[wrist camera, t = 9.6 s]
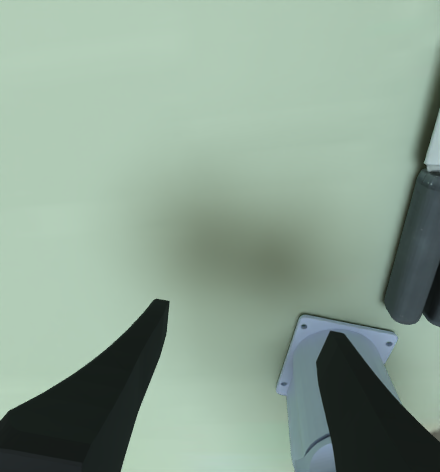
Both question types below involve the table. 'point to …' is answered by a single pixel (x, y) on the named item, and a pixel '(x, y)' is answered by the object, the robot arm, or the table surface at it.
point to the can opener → (419, 248)
